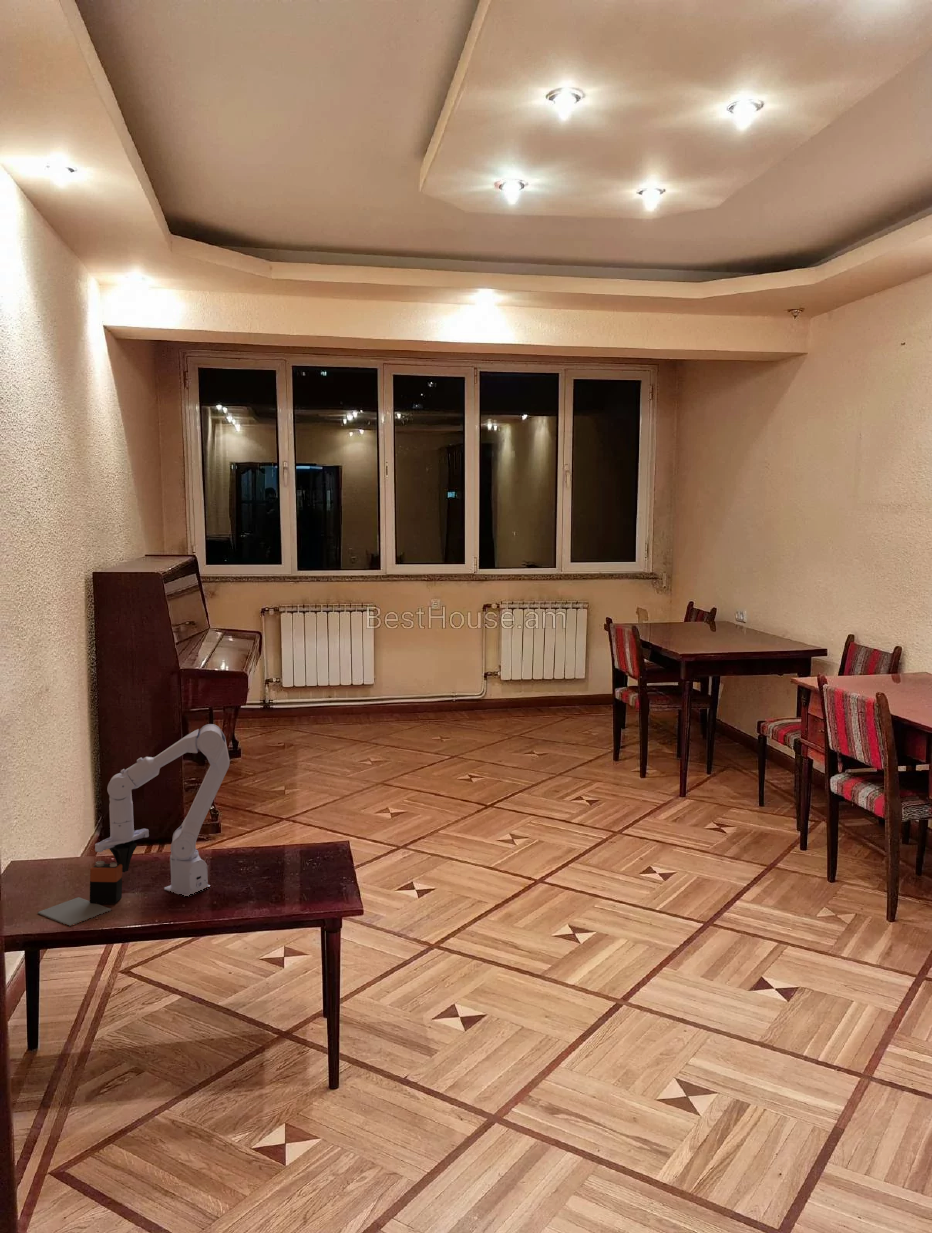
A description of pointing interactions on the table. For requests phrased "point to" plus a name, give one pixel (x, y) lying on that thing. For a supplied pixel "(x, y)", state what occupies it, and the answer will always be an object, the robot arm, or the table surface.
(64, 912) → the mat
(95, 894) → the battery
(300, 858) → the table surface
